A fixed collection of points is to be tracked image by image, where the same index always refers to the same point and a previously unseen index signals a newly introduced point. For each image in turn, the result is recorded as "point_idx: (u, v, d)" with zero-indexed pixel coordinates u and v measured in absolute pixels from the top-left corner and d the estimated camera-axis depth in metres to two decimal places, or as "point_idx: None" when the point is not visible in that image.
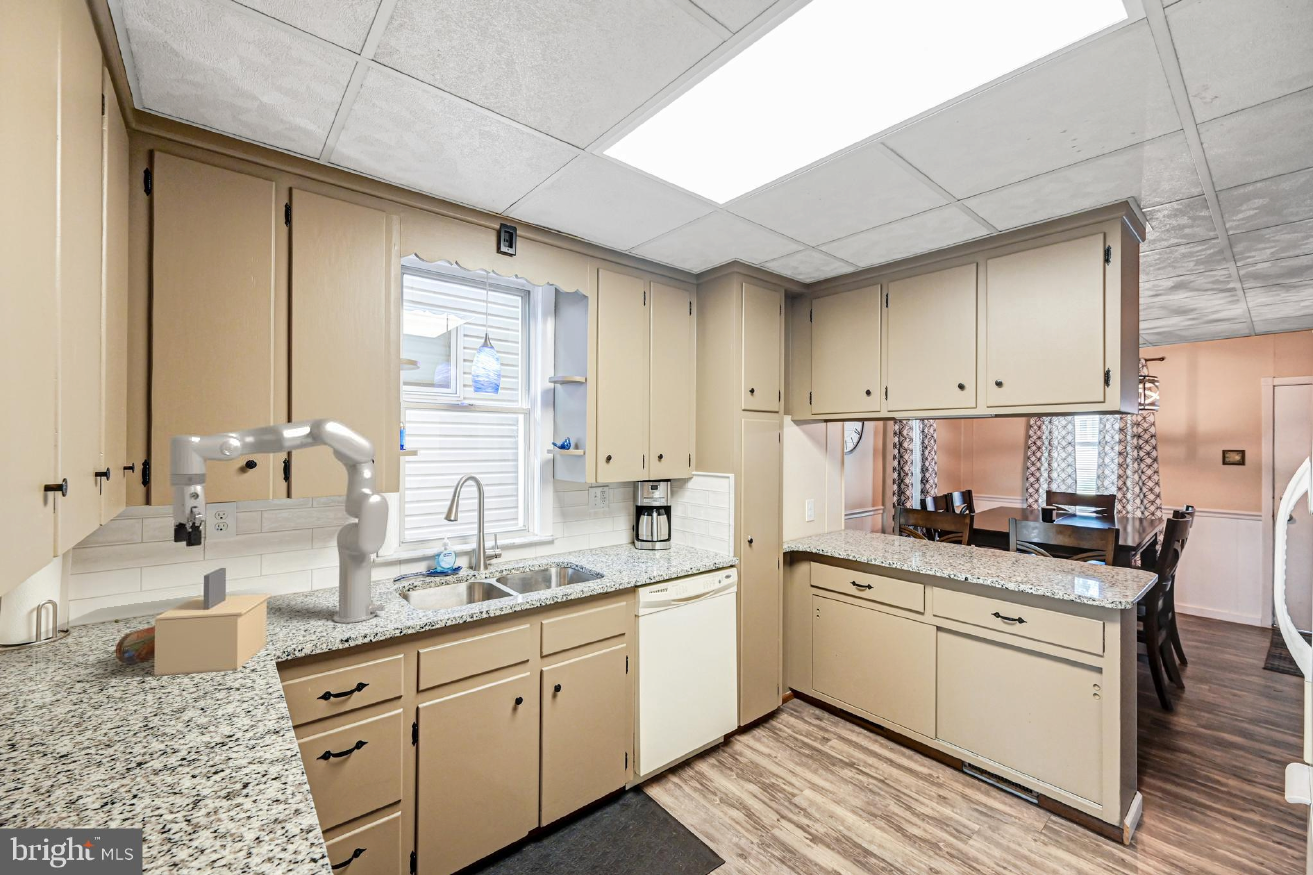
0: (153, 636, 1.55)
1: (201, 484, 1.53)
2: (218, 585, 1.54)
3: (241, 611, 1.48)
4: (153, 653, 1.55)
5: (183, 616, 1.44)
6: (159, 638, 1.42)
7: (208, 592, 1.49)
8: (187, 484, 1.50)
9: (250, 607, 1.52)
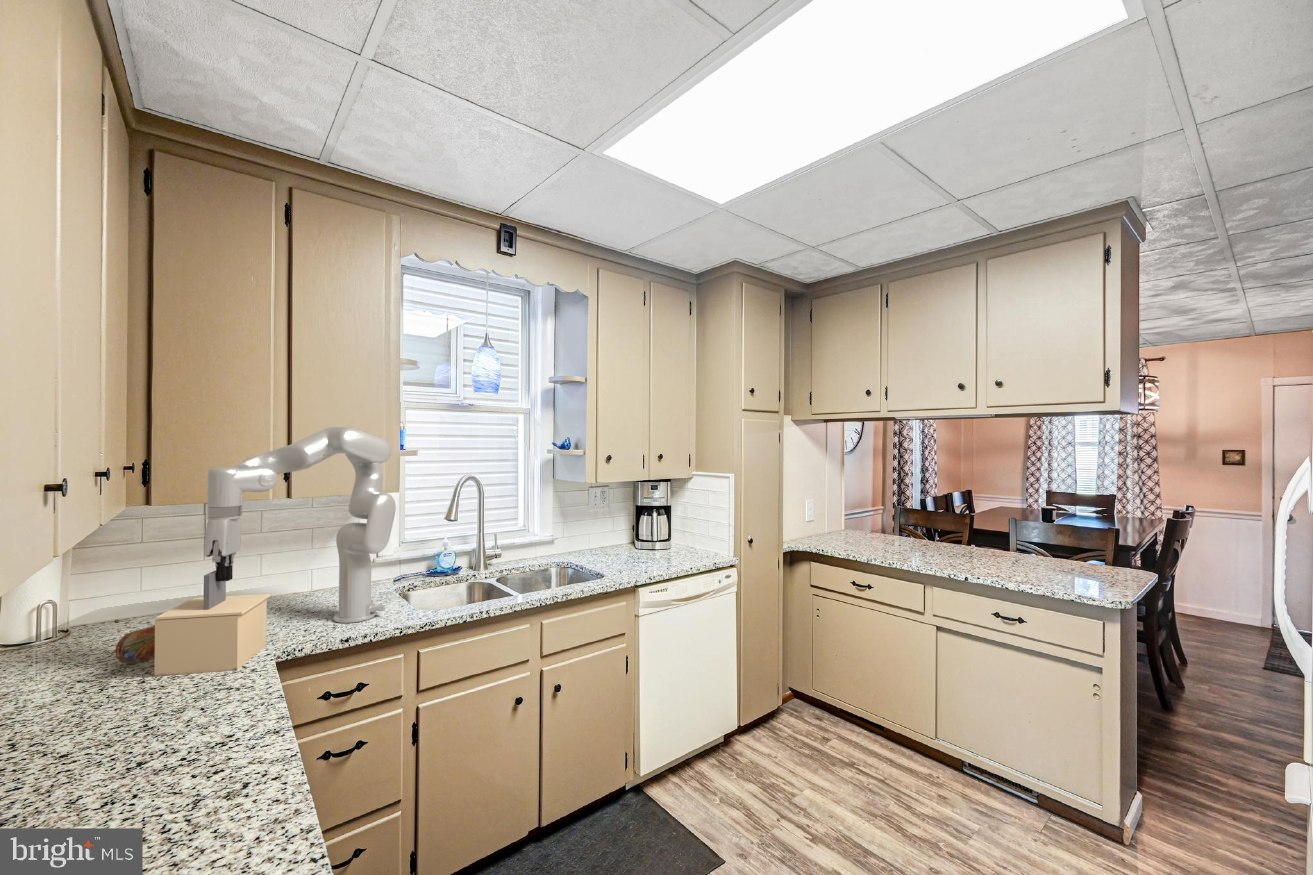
0: (153, 636, 1.55)
1: None
2: (218, 585, 1.54)
3: (241, 611, 1.48)
4: (153, 653, 1.55)
5: (183, 616, 1.44)
6: (159, 638, 1.42)
7: (208, 592, 1.49)
8: None
9: (250, 607, 1.52)
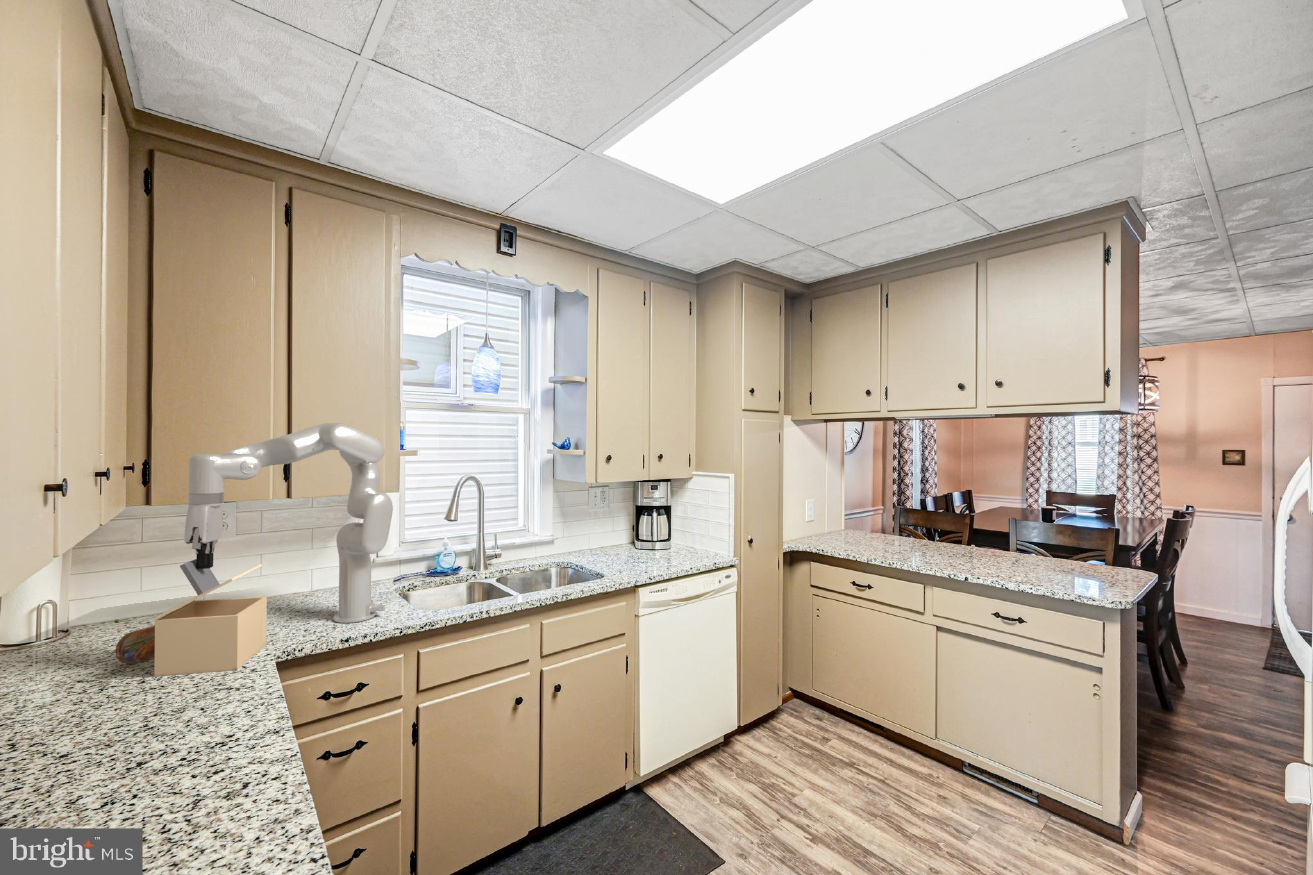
0: (153, 636, 1.55)
1: None
2: (202, 572, 1.53)
3: (231, 579, 1.47)
4: (153, 653, 1.55)
5: (179, 605, 1.44)
6: (159, 638, 1.42)
7: (193, 578, 1.48)
8: None
9: (240, 574, 1.51)
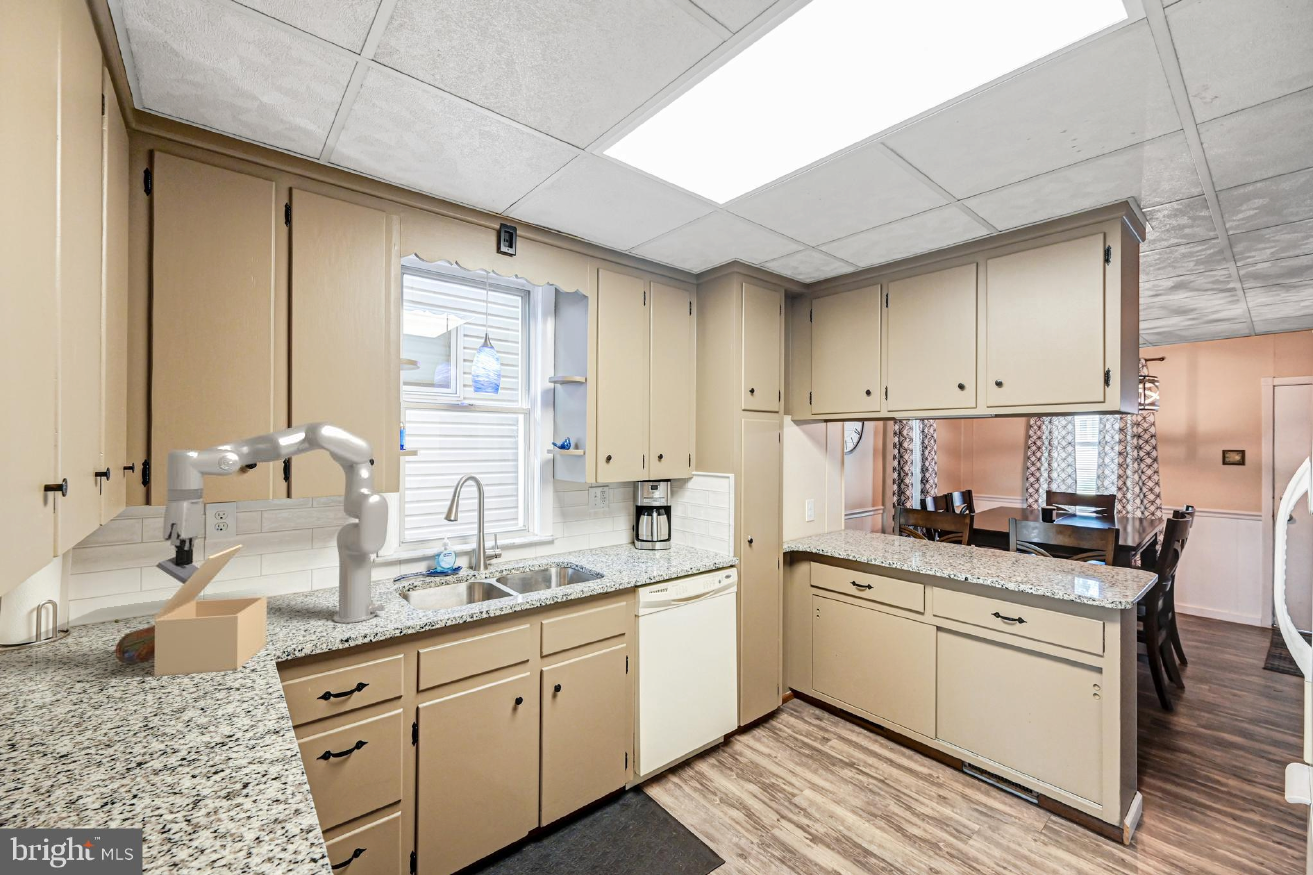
0: (153, 636, 1.55)
1: None
2: (183, 567, 1.52)
3: None
4: (153, 653, 1.55)
5: (171, 599, 1.43)
6: (159, 638, 1.42)
7: (174, 573, 1.47)
8: None
9: (218, 553, 1.50)
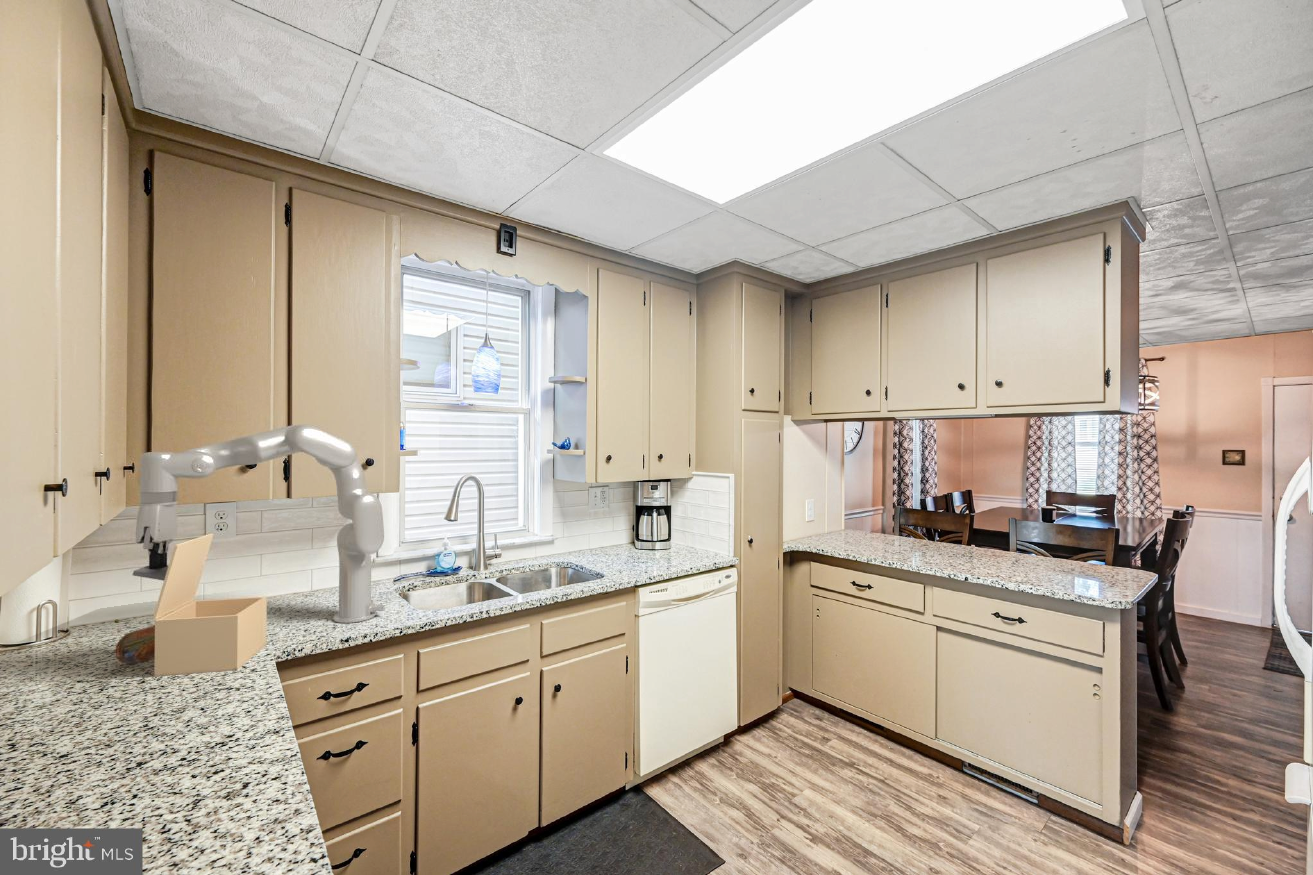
0: (153, 636, 1.55)
1: None
2: (162, 569, 1.51)
3: None
4: (153, 653, 1.55)
5: (160, 595, 1.43)
6: (159, 638, 1.42)
7: (154, 574, 1.46)
8: None
9: (186, 541, 1.48)
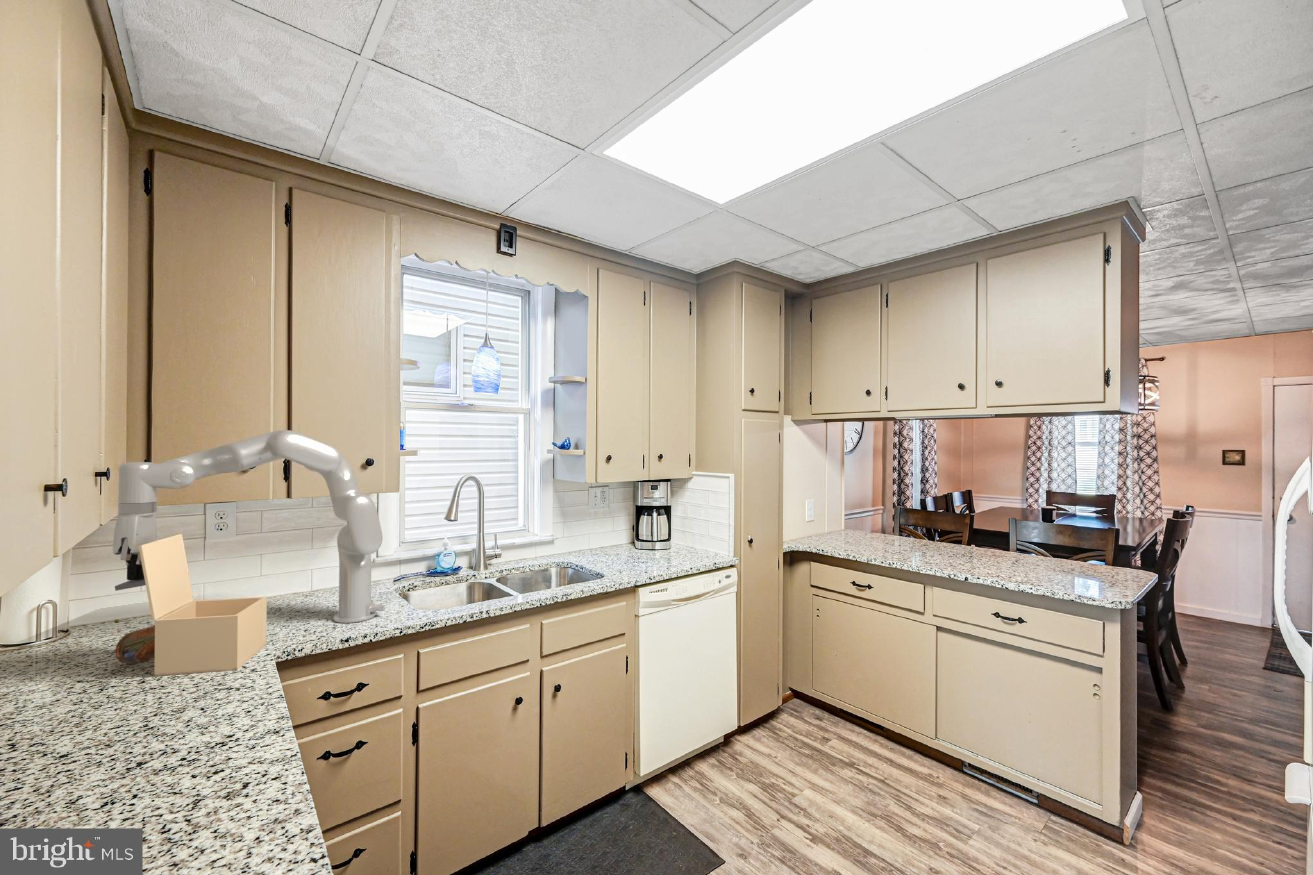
0: (153, 636, 1.55)
1: None
2: (144, 578, 1.50)
3: None
4: (153, 653, 1.55)
5: (149, 596, 1.42)
6: (159, 638, 1.42)
7: (135, 582, 1.45)
8: None
9: (151, 542, 1.46)
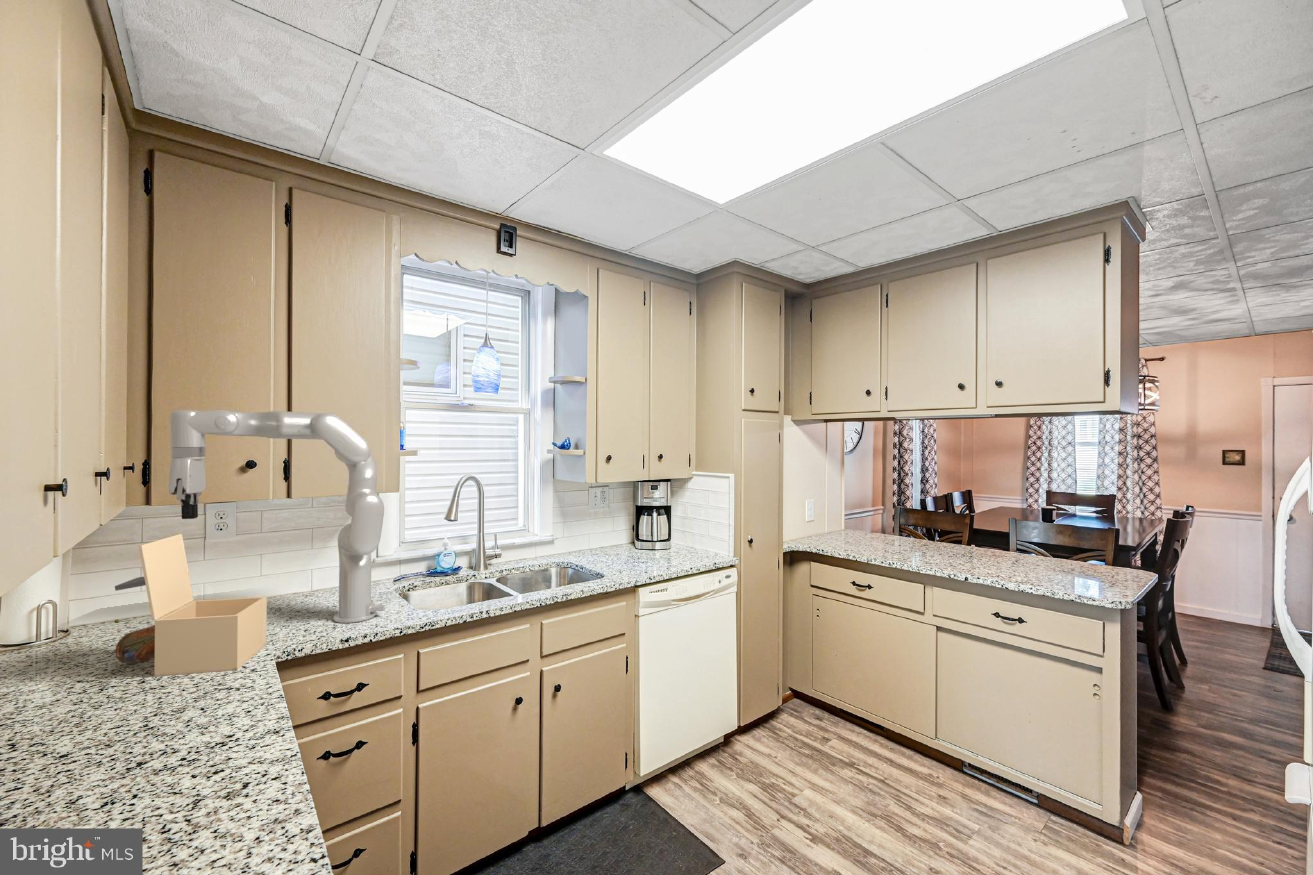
0: (153, 636, 1.55)
1: None
2: (144, 578, 1.50)
3: None
4: (153, 653, 1.55)
5: (149, 596, 1.42)
6: (159, 638, 1.42)
7: (135, 582, 1.45)
8: None
9: (151, 542, 1.46)
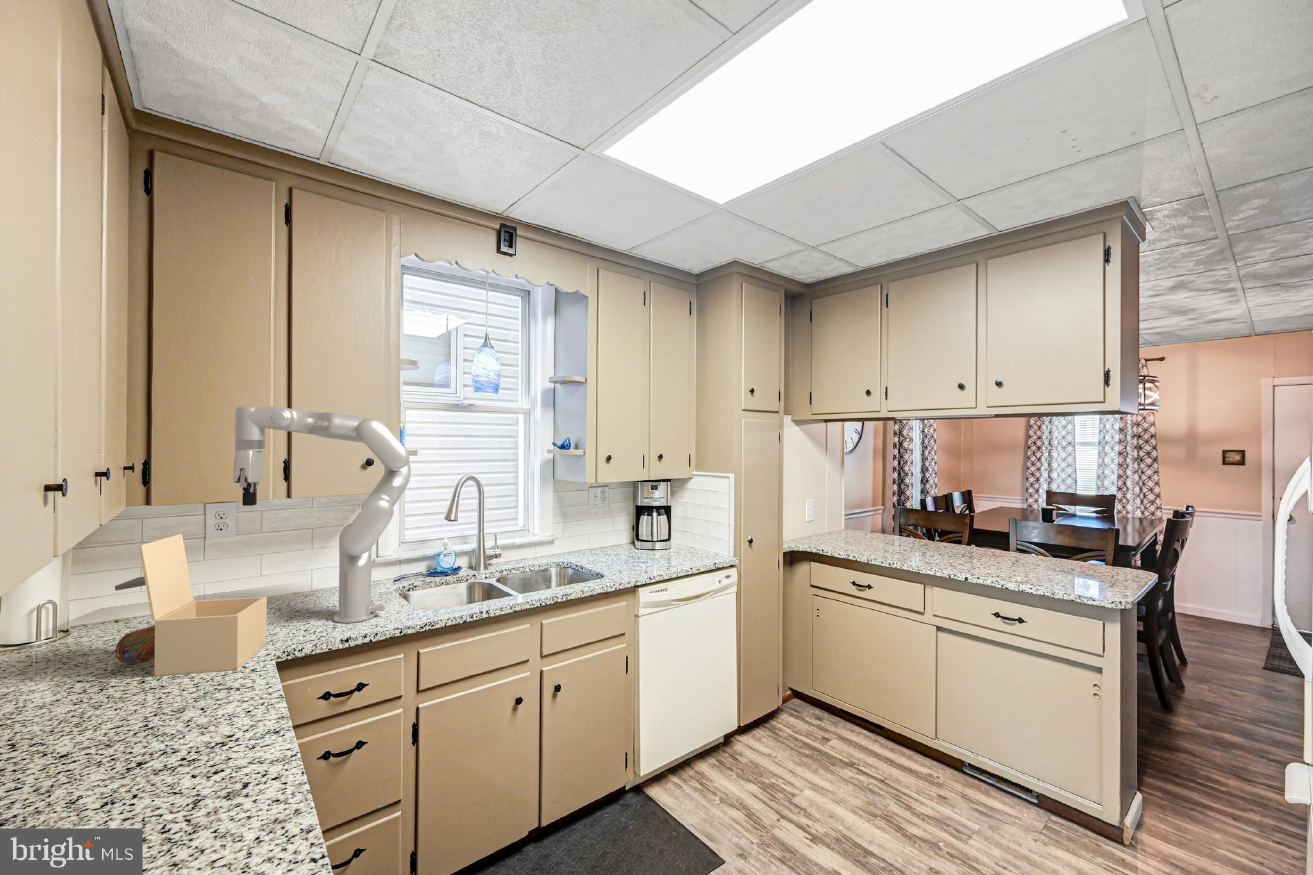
0: (153, 636, 1.55)
1: None
2: (144, 578, 1.50)
3: None
4: (153, 653, 1.55)
5: (149, 596, 1.42)
6: (159, 638, 1.42)
7: (135, 582, 1.45)
8: None
9: (151, 542, 1.46)
